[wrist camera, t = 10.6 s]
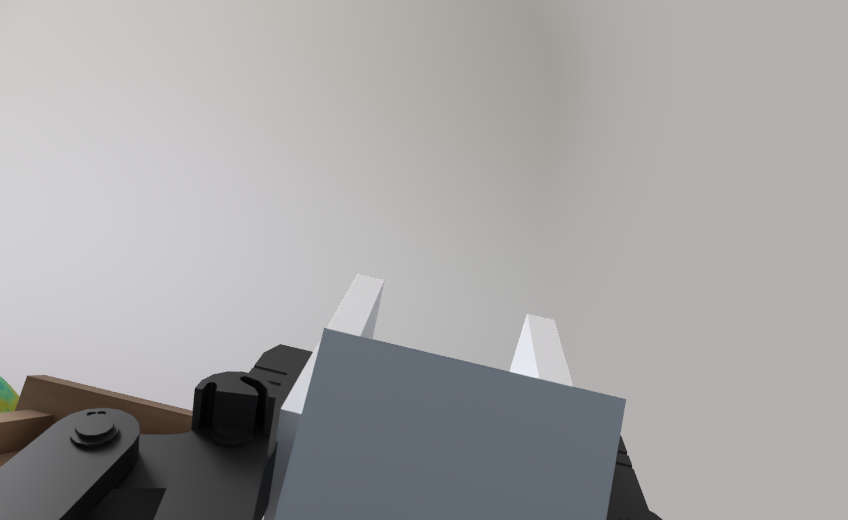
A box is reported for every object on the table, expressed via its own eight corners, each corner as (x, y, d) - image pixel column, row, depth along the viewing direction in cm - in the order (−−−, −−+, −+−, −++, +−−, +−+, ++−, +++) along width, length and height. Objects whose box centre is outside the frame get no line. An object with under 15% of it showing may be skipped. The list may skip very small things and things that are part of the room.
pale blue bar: (569, 742, 7) (625, 398, 7) (236, 660, 7) (324, 327, 8) (439, 439, 34) (454, 372, 35) (374, 423, 34) (390, 356, 35)
